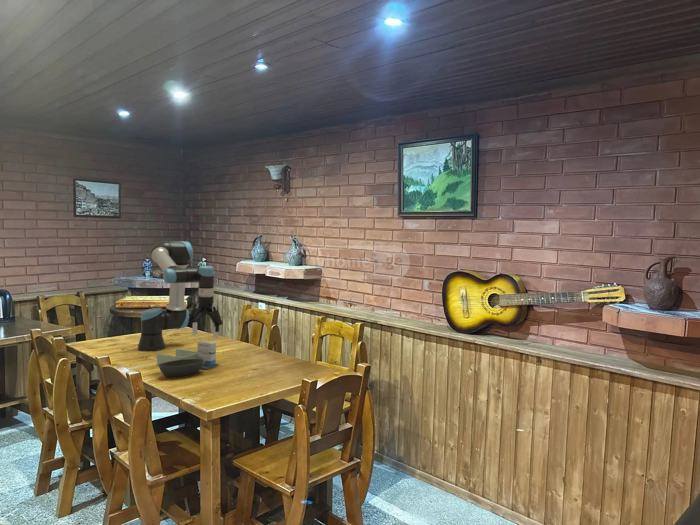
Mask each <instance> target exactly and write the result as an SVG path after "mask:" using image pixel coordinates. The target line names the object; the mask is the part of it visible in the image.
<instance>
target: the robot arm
mask: <svg viewBox="0 0 700 525" xmlns="http://www.w3.org/2000/svg"><path fill="white" fill-rule="evenodd" d="M149 254H150V255H149V256H150V258H151V260H152V261H153V262H154V263H156V264H157V265H158V266H159V268H160V269H161V270H162V271H163V272H162V279H163V282H164V283H166V284H169V295H168V297H169V298H168V304H167V305H166V306H165V310H163V308H161V307H157V308H155V307H153V308H149V309H145V310H143V311H142V312H141V313H140V314H141V316H140V322H141V323H140V324H141V325H140V338H139V342H138V344H137V350H138V351H142V352H154V351H161V350H164V349H166V342H165V341H164V337H163V331H166V330H167V331H168V330H180V329H184V328H186V327H187V326H188V324H189V322H190V323H191V329H192V331H191V333H192V336H197V335H198V322H197V321H198V319H199V318H200V317H201V316H202V315H208V317H209V318H210V320H211V321H212V323H213V328H212V329H213V331H212V332H213V336H212V339H214V340H215V339H218V338H219V331H220V326H221V325H223V324H224V323H223V321H222V318H221V315H220V313H219V306H214V305H213V304H214V293H215V290H214V288H215V287H214V286H215V285H214V284H215V268H214V266H212V265H201V266H199V267H193V268H191V267H190V268H187V267H188V266H189V265H190V262H192V261H193V259H194V249H193V246H192V244H191V242H189V241H184V240H161V241H158V242H156V243H155V244H154V245H153V246H152V247H151V249H150V252H149ZM186 283H188V284H189V283H195V284H196V283H198V297H197V298H198V299H197V301H198V302H197V303H194V304H193V309H192V311H191V313H190V311H189V310H188V309H187V307H186V305H185V293H186V292H185V291H186Z"/></svg>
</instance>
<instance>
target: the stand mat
mask: <svg viewBox="0 0 700 525" xmlns="http://www.w3.org/2000/svg"><path fill="white" fill-rule="evenodd" d="M219 366H220V363H216V364H215V365H212V366H206V365H202V367H201V369H200V370H204V371H207V370H210V369H213V368H216V367H219Z"/></svg>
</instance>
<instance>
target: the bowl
mask: <svg viewBox="0 0 700 525" xmlns="http://www.w3.org/2000/svg"><path fill="white" fill-rule="evenodd" d="M203 363H204V360H202V359H184V360H176V361H169V362H165V363H161V364H159V365H157V366H158V369H159V370H160V372H161V374H163V376H164V377H166V378H167V379H177V378H178V379H181V378H186V377H191V376H192V377H193V376H195V375H197V373H199V371H200V370H202V369H201V367H202V365H203Z"/></svg>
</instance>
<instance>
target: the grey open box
mask: <svg viewBox="0 0 700 525" xmlns="http://www.w3.org/2000/svg"><path fill="white" fill-rule="evenodd" d="M197 352H198V350H197V351H195V350H190V349H184V348H175V355H172V354H171V355H170V354H165V353H159V352H158V353H156V366H158V365H159V364H161V363H165V362H169V361H176V360H184V359H197Z"/></svg>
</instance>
